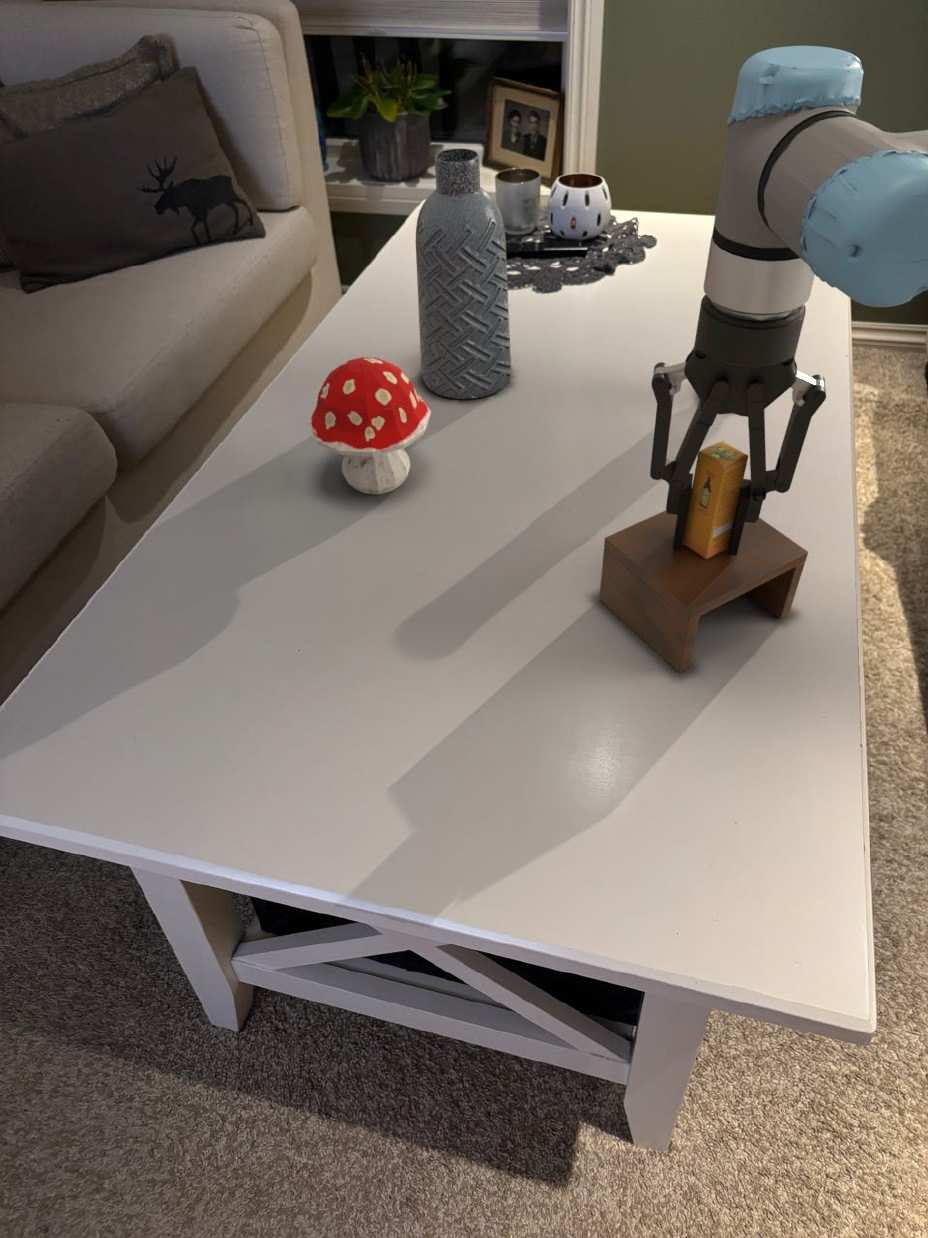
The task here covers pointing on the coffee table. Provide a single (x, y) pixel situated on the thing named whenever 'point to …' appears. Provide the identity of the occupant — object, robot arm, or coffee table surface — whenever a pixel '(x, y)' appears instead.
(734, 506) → the supplement box
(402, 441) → the decorative mushroom
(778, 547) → the shelf
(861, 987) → the coffee table surface
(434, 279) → the vase
